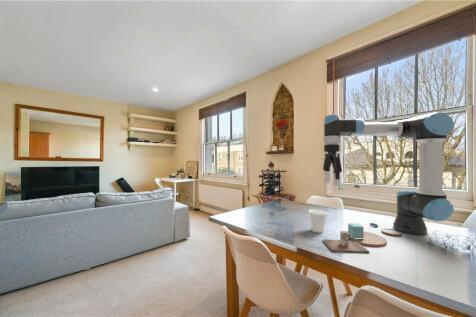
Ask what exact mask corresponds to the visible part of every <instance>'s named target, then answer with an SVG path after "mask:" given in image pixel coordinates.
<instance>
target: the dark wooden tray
mask: <svg viewBox="0 0 476 317" xmlns="http://www.w3.org/2000/svg"><path fill="white" fill-rule="evenodd" d="M339 232H340V233H339V234H340V235H339V236H340V239H325V238H324V239H322V241H321V242H323V243H324V244H325V246H326V247H327V248H328V249H329V251H330V252H332V253H350V254H351V253H355V254H370V250H368V249H367V248H366V247H365V246H363V245H362V244H361V243H359V242H358V241H357V239H349V236H348V231H347V230H340V231H339Z"/></svg>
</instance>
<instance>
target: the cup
mask: <svg viewBox="0 0 476 317" xmlns="http://www.w3.org/2000/svg"><path fill="white" fill-rule="evenodd" d="M308 214H309V220H310V227H311V231H312V232H314V233H316V234H317V233H318V234H322V233H323V232H324V230H325V224H326V219H327V214H328V212H327V211H324V210H322V209H321V210H320V209H310V210H308Z"/></svg>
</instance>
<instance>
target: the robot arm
mask: <svg viewBox="0 0 476 317" xmlns="http://www.w3.org/2000/svg"><path fill="white" fill-rule="evenodd" d="M454 122H455V121H454V119H453V118H452V117H451V116H450V115H448V114H447V113H445V112H441V111H438V112H437V111H436V112H429V113H427V114H423V115H419V116H416V117H415V116H414V117H411V118H408V119H402V120H395V121H393V122H365V120H363V119H362V118H347V119H346V118H344V119H343V118H341V117H340V115H339V114H328V115H325V117H324V122H323V127H324V128H323V132H324V133H323V135H324V136H323V139H322V140H323V143H324V146H323V151H324V152H325V154H324V161H323V167H322V170H323V171H324V178H323V179H324V183H325V184H327V183H328V184H330V183H331V166H332V168H333V172H332V173H333V187H340V185H341V174H340V173H342V172H343V169H342V164H341V163H342V162H341V159H340V153H339V152H340V150H341V148H340V144H341V143H340V142H341V137H351V136H352V137H355V136H356V137H362V136H364V137H370V136H371V137H372V136H373V137H374V136H376V137H378V136H383V137H384V136H386V137H387V136H389V137H390V136H392V137H394V138H405V139H415V142H417V143H418V144H419V162H418V163H419V165H418V167H419V170H418V171H419V172H418V173H419V179H418V181H419V182H418V183H419V184H418V186H419V187H418V189H417V190H398V191H397V193H396V216H395V219H394V222H393V223H392V224H393V225H392V228H393V229H394V230H395V231H399V232H402V233H406V234H410V235H417V236H418V235H419V236H424V235H428V228H427V225H426V223H425V220H424V218H425V219H427V220H429V221H433V222H444V221H447V220H448V219H449V218H451V217H452V216H453V214H454V210H455V209H454V205H453V203H451V201H450V200H448V199H447V193H446V192H444V191H443V149H444V148H443V144H444V142H445V141H447V140H448V134H451V133H452V131H453V130H454V127H455V123H454Z"/></svg>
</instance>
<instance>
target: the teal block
mask: <svg viewBox="0 0 476 317" xmlns="http://www.w3.org/2000/svg"><path fill="white" fill-rule="evenodd" d="M347 230H348V231H347V232H348V234H349V235H350V236H351V237H352V238H363V239H364V226H363V225H361V224H360V223H357V222H355V223H351V222H350V223H348V224H347ZM351 237H350V238H351ZM352 238H351V239H352Z"/></svg>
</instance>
